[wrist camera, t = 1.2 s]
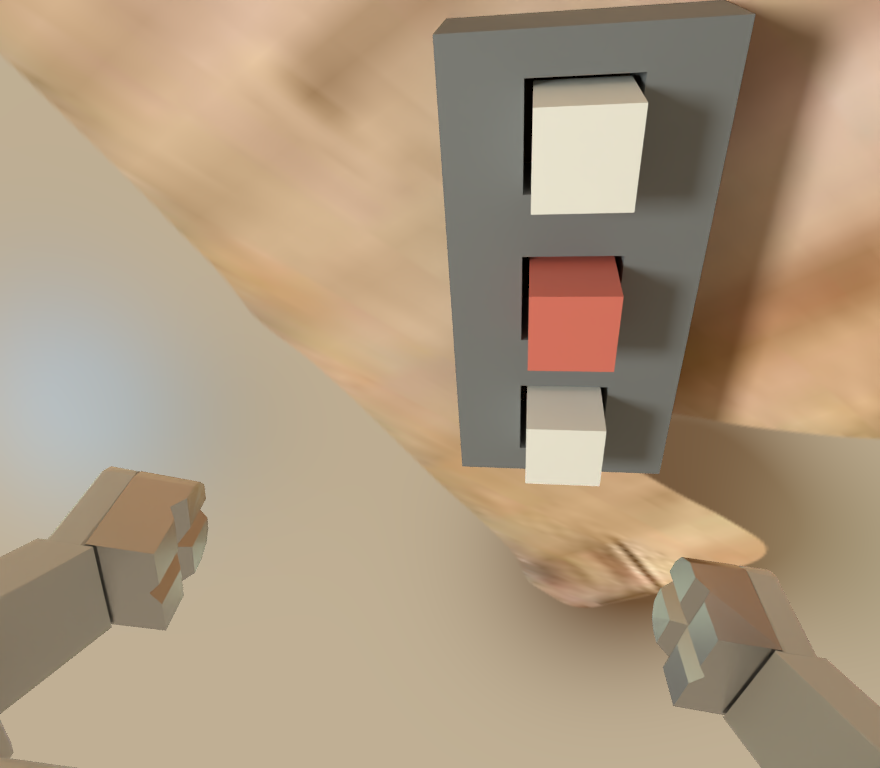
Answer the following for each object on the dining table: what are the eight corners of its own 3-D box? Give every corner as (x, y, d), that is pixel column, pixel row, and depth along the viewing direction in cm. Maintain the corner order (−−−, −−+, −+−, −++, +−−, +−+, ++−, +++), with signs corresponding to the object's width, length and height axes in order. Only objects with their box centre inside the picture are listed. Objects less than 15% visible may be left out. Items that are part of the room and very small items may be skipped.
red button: (612, 250, 32) (623, 296, 28) (605, 320, 35) (614, 371, 31) (530, 251, 33) (529, 296, 29) (528, 320, 36) (527, 370, 32)
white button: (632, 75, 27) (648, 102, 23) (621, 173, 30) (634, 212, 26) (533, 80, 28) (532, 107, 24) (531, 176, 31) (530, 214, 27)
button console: (724, -1, 28) (755, 13, 24) (648, 423, 44) (659, 473, 40) (446, 18, 30) (432, 34, 26) (468, 418, 46) (462, 466, 42)
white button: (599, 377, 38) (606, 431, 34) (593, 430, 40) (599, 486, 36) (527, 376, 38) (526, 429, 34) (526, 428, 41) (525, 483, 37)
